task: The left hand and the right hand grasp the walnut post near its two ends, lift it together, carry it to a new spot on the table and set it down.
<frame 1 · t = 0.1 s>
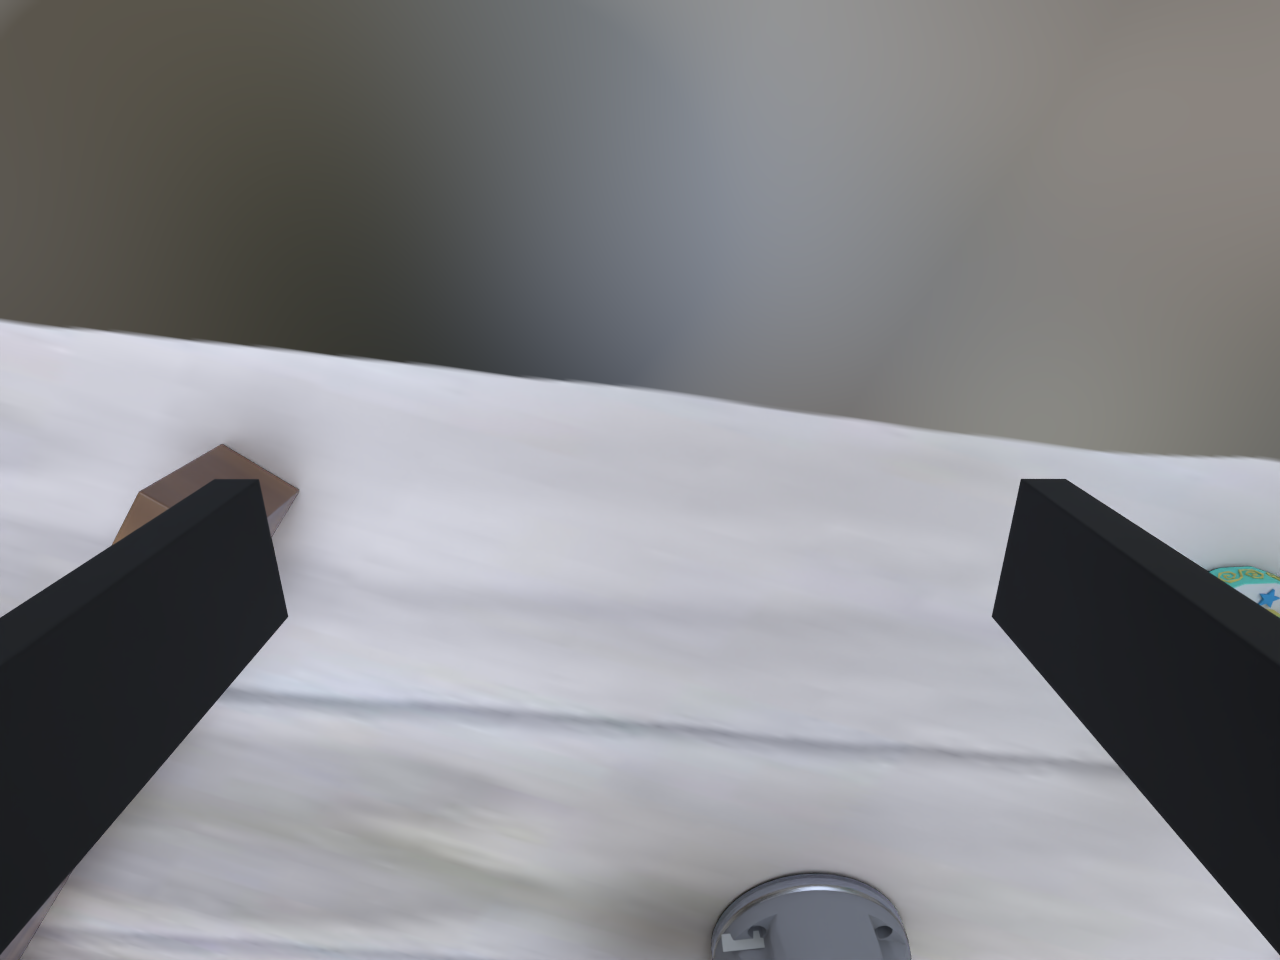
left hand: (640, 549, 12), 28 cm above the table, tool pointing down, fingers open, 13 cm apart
post: (85, 776, 50), on the table
decorative hourglass: (1214, 631, 46), on the table
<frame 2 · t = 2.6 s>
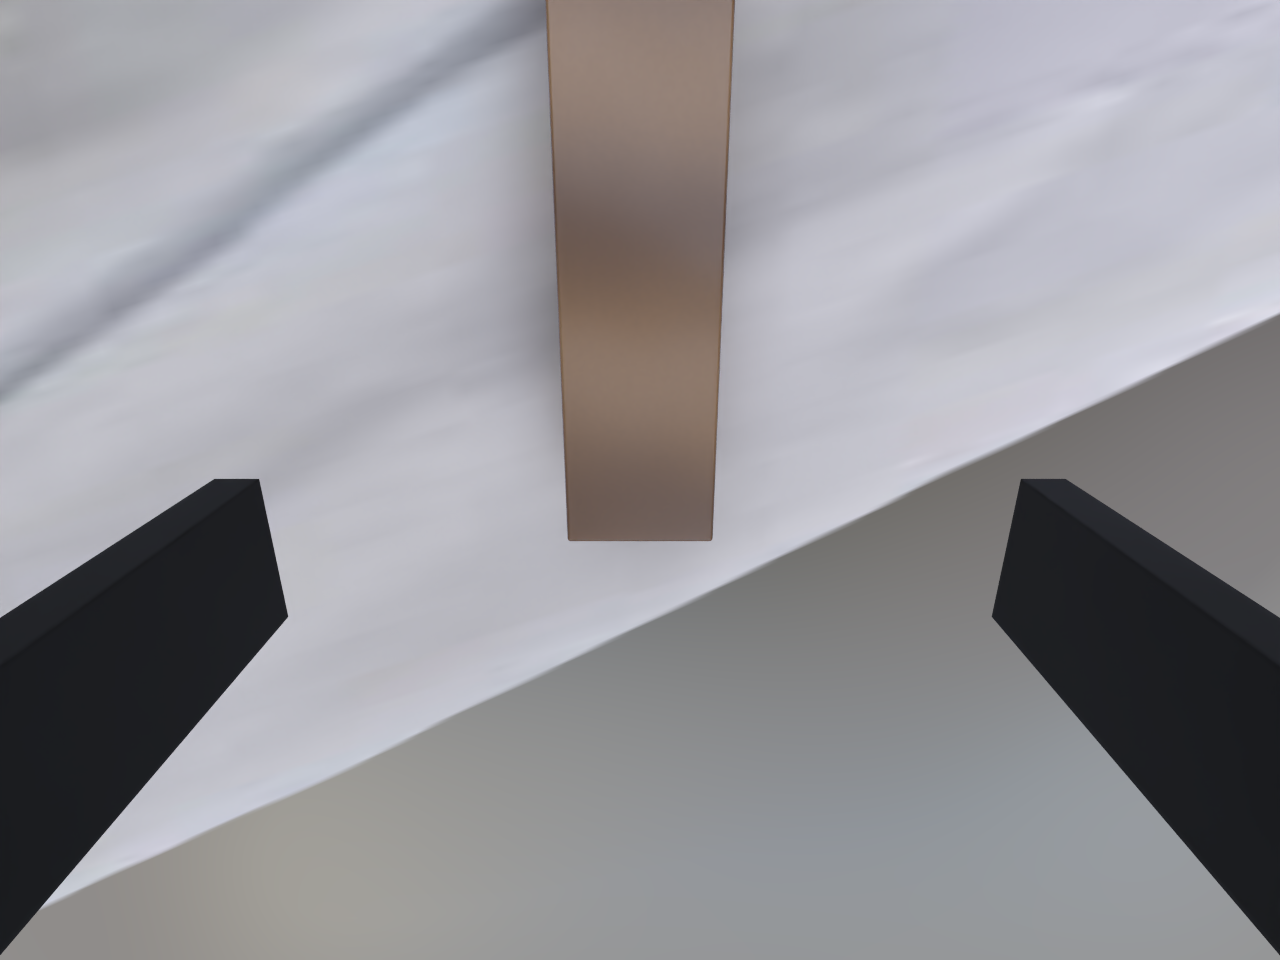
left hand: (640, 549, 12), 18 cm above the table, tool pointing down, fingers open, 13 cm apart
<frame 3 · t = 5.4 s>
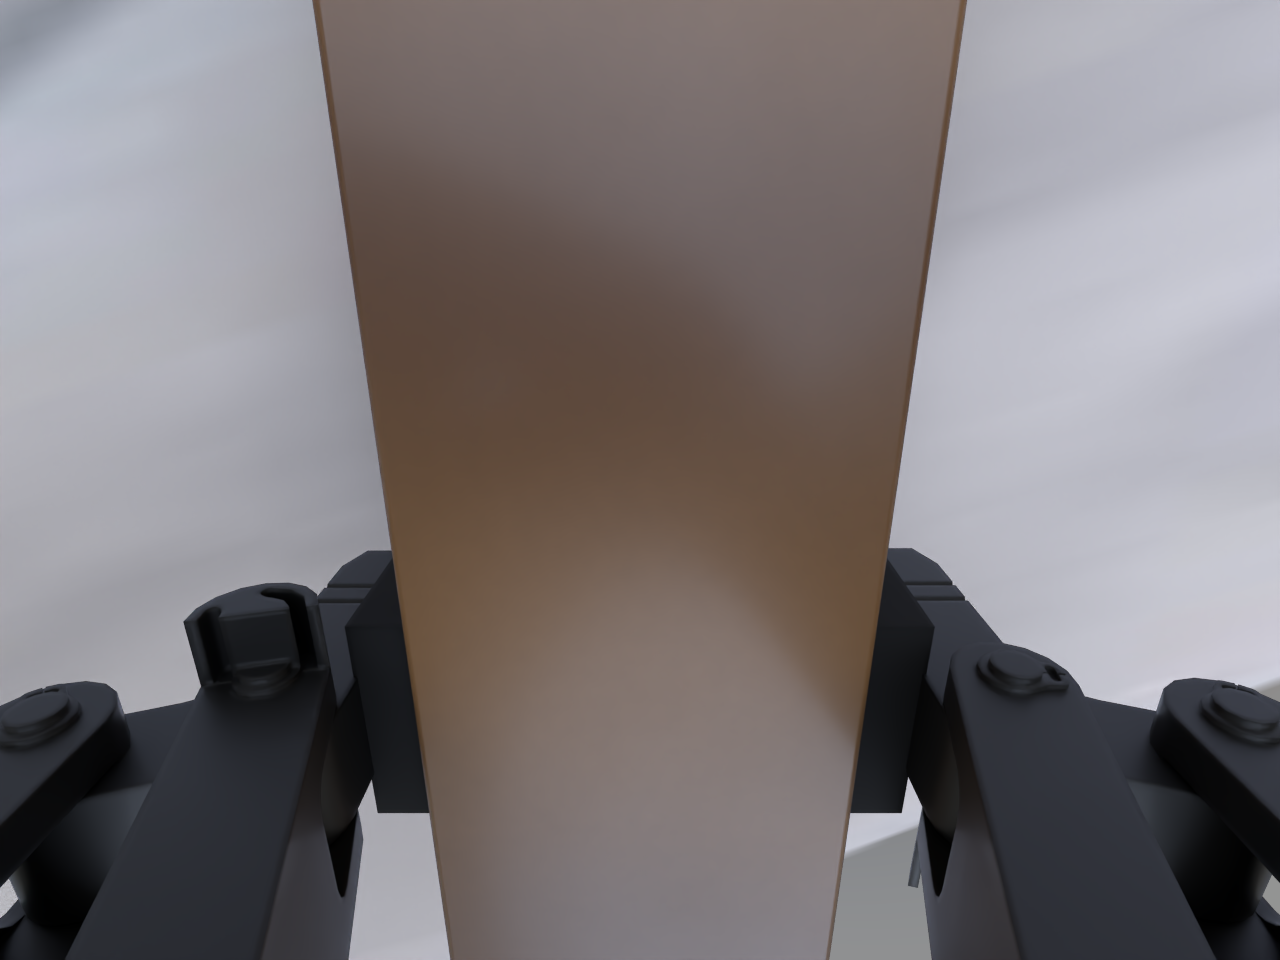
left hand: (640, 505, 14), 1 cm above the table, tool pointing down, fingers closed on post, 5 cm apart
when the left hand's fingers open (2 cm above the table, at t = 11.1 s): post drops 2 cm, on the table.
when the right hand's fingers open (4 cm above the table, at t = 11.3 s): post stays where it is, on the table.
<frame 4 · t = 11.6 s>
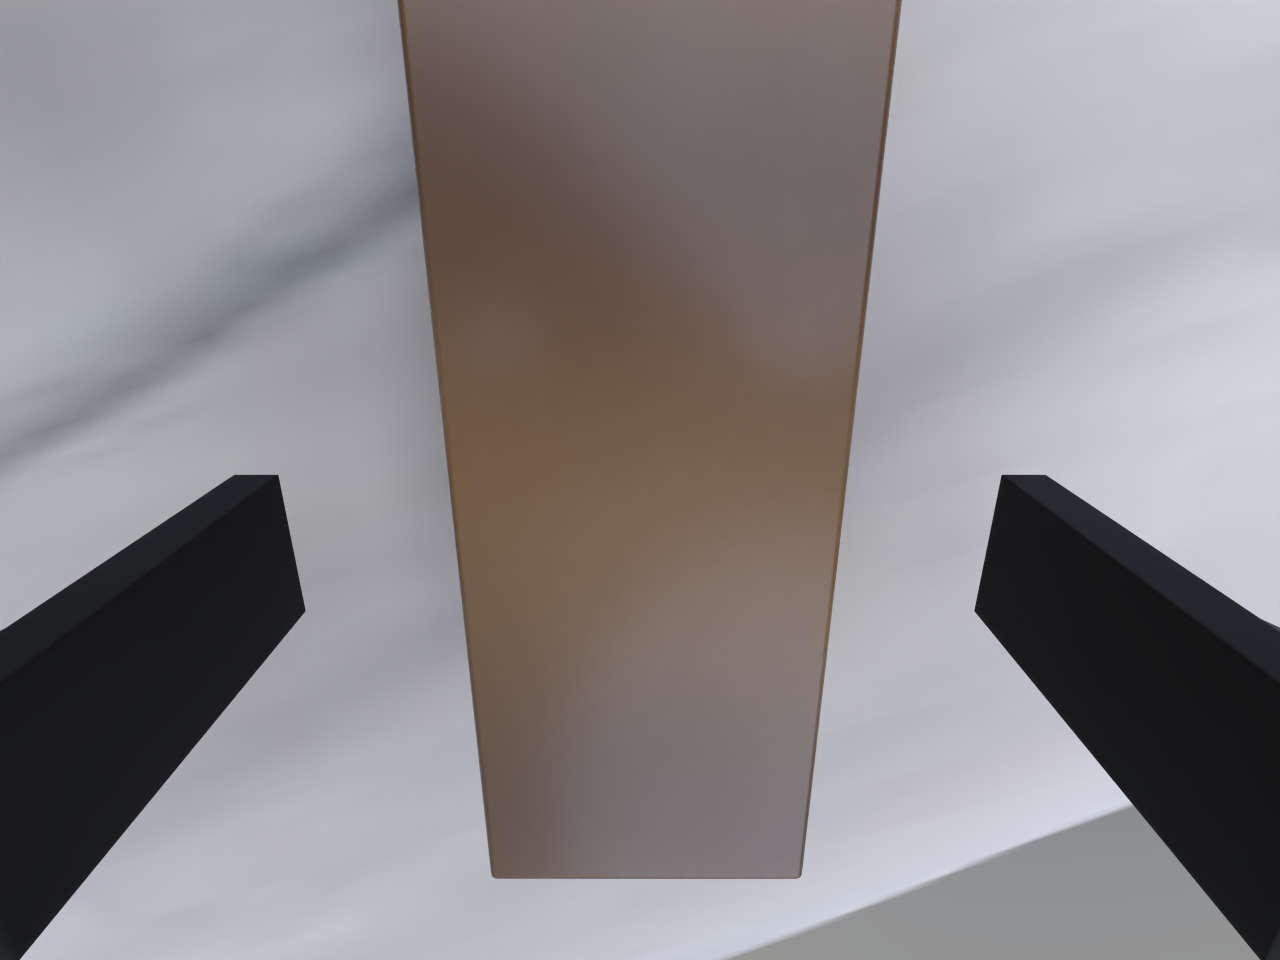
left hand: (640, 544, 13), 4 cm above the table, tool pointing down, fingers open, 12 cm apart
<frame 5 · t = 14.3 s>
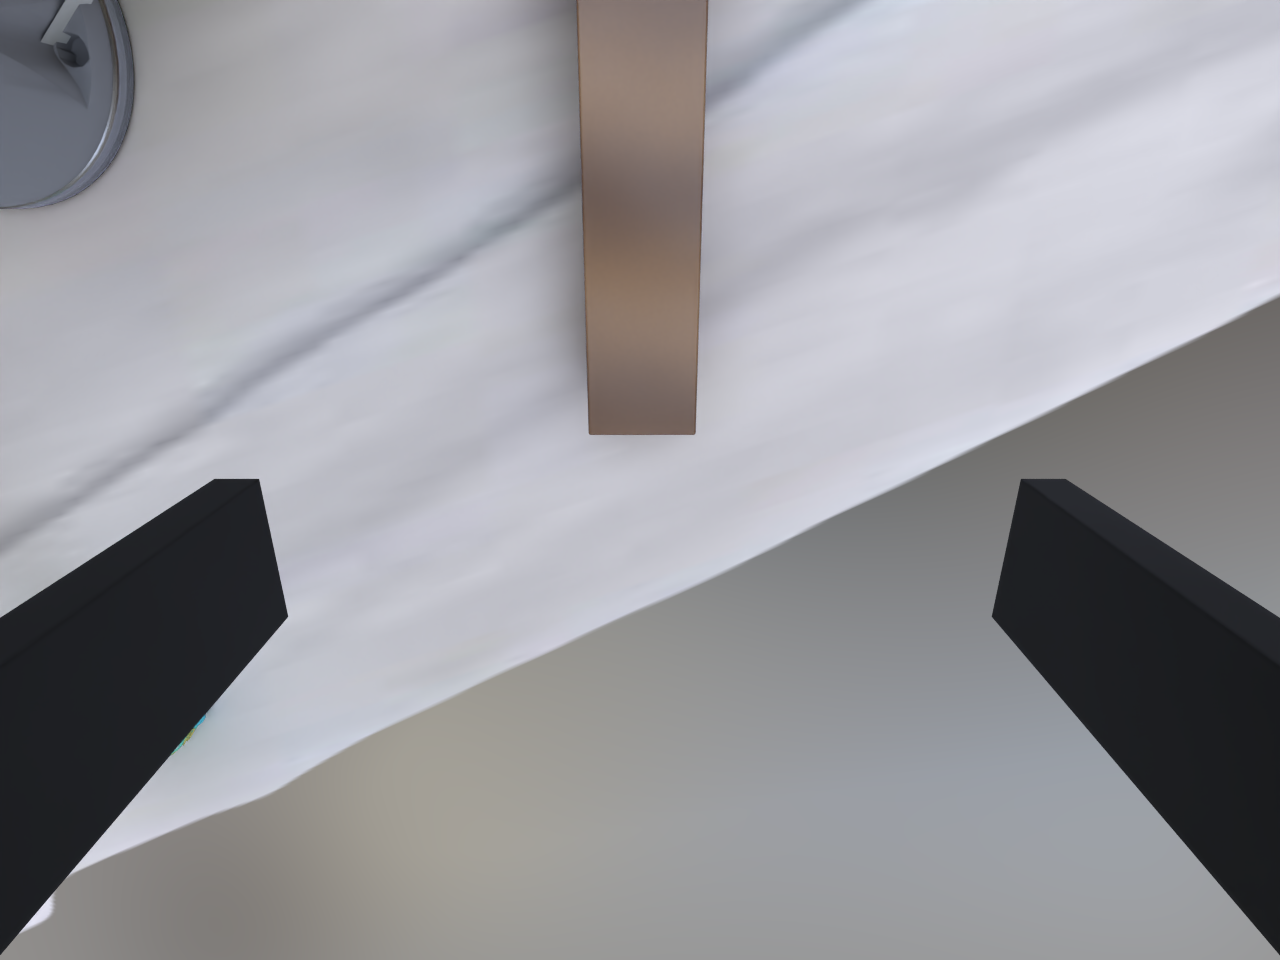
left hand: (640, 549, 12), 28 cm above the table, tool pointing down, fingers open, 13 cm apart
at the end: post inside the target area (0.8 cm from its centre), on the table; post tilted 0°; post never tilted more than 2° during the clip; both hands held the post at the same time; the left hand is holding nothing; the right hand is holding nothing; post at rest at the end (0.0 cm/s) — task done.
